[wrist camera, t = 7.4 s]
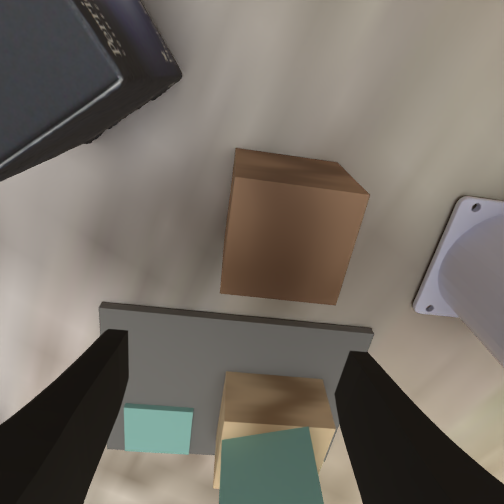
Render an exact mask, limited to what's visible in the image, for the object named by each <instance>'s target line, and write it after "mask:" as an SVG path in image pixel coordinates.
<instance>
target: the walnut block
mask: <svg viewBox="0 0 504 504" xmlns="http://www.w3.org/2000/svg"><path fill="white" fill-rule="evenodd" d="M369 197H370V194H369V193H368V192H367V191H366V190H365V189H364V188H362V187H361V186H360V185H359V184H358V183H357V182H356V181H355V180H354V179H353V178H352V177H351V176H350V175H349V174H348V173H347V172H346V171H345V170H344V169H343V168H342V167H341V166H340V165H339V164H338V163H337V162H330V161H324V160H317V159H310V158H303V157H296V156H289V155H282V154H275V153H268V152H261V151H254V150H247V149H240V148H236V150H235V158H234V167H233V175H232V183H231V191H230V199H229V207H228V215H227V223H226V231H225V239H224V250H223V262H222V275H221V287H220V293H221V294H231V295H240V296H250V297H260V298H269V299H279V300H289V301H299V302H308V303H318V304H328V305H336V303H337V299H338V296H339V293H340V290H341V287H342V283H343V280H344V277H345V274H346V271H347V267H348V264H349V261H350V258H351V255H352V251H353V248H354V245H355V242H356V239H357V235H358V232H359V229H360V226H361V223H362V219H363V216H364V213H365V210H366V207H367V203H368V200H369Z"/></svg>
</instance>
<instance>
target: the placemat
mask: <svg viewBox="0 0 504 504" xmlns="http://www.w3.org/2000/svg"><path fill="white" fill-rule="evenodd" d="M99 320H100V336H101V335H102V334H103V333H104V331H106V330H107V329H117V330H128V349H129V379H128V383H127V387H126V391H125V394H124V398H123V401H122V405H121V408H120V411H119V414H118V416H117V419H116V421H115V424H114V426H113V429H112V431H111V434H110V436H109V439H108V441H107V449H117V450H125V434H124V406H125V403H131V404H145V405H159V406H173V407H187V408H194V409H193V419H192V428H191V438H190V447H189V454H203V455H215V448H216V434H217V427H218V421H219V414H220V408H221V402H222V395H223V389H224V382H225V376H226V371H228V372H241V373H253V374H265V375H277V376H290V377H302V378H314V379H323V383H324V387H325V390H326V394H327V398H328V401H329V405H330V409H331V413H332V416H333V420H334V424H335V427H336V430H335V433H334V435H333V438H332V440H331V443H330V446H329V448H328V451H327V453H326V456H325V459H324V461H323V462H325V460H326V457H327V454H328V452H329V449H330V447H331V444H332V442H333V439H334V436H335V434H336V431H337V429H338V426H339V419H338V413H337V407H336V401H335V395H334V393H335V391H336V388H337V385H338V382H339V380H340V377H341V374H342V371H343V368H344V366H345V363H346V360H347V357H348V354H349V352H350V351H361V352H368V349H369V346H370V344H371V341H372V339H373V336H374V333H373V331H372V329H371V328H363V327H352V326H342V325H332V324H322V323H311V322H301V321H291V320H280V319H270V318H260V317H250V316H239V315H229V314H219V313H208V312H198V311H188V310H178V309H167V308H157V307H147V306H136V305H126V304H116V303H106V302H102V303H101V305H100V307H99Z"/></svg>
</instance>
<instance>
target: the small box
mask: <svg viewBox="0 0 504 504" xmlns="http://www.w3.org/2000/svg"><path fill="white" fill-rule="evenodd" d="M181 78H182V73H181V71H180V69H179V67H178V65H177V63H176V61H175V60H174V58H173V56H172V54H171V53H170V51H169V49H168V48H167V46H166V44H165V42H164V41H163V39H162V37H161V35H160V34H159V32H158V30H157V29H156V27H155V25H154V24H153V22H152V20H151V18H150V17H149V15H148V13H147V12H146V10H145V8H144V6H143V5H142V3H141V1H140V0H0V182H1V181H3V180H5V179H7V178H9V177H11V176H14V175H16V174H18V173H21V172H23V171H25V170H27V169H29V168H31V167H34V166H36V165H38V164H41V163H42V162H45V161H47V160H49V159H52V158H54V157H56V156H58V155H60V154H62V153H64V152H66V151H68V150H70V149H72V148H75V147H77V146H79V145H81V144H88V143H92V141H93V140H94V139H97V138H98V137H99V136H100V135H101V134H102V133H103V132H104V131H105V130H106V129H110V128H112V126H115V125H116V124H117V123H118V122H119V121H120V120H121V119H123V118H126V117H127V115H129V114H131V113H132V112H134V111H135V110H137V109H140V107H141V106H143V105H144V104H146V103H148V102H149V101H150V100H155V99H156V98H157V97H159V96H161V94H162V93H164V92H166V90H167V89H169V88H170V87H171V86H172V85H173V84H175V83H176V82H178V81H179V80H180V79H181Z"/></svg>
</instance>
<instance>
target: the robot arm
mask: <svg viewBox="0 0 504 504" xmlns="http://www.w3.org/2000/svg"><path fill="white" fill-rule="evenodd" d="M476 203H477V206H476V207H475V208H474V209H472V206H473V205H474V204H476ZM471 209H472V210H471ZM429 305H431V306H430V307H429V308H427V306H429ZM413 309H414V310H415V311H416V312H417V313H420V314H429V315H439V316H449V317H459V318H460V319H461V320H462V321H463V322H464V323H465V324H466V326H467V327H468V328H469V329H470V330H471V331H472V332H473V333H474V335H475V336H476V337H477V338H478V339H479V340H480V341H481V343H482V344H483V345H484V346H485V347H486V348H487V349H488V351H489V352H490V353H491V354H492V355H493V356H494V357H495V359H496V360H497V361H498V362H499V363H500V364H501V365H502V366H503V368H504V201H500V200H493V199H485V198H478V197H471V196H464V197H462V198H460V199H459V200H458V202H457V203H456V205H455V208H454V210H453V212H452V215H451V217H450V219H449V222H448V224H447V226H446V229H445V231H444V233H443V236H442V238H441V240H440V242H439V245H438V247H437V249H436V252H435V254H434V256H433V259H432V261H431V263H430V266H429V268H428V270H427V273H426V275H425V277H424V280H423V282H422V284H421V287H420V289H419V291H418V294H417V296H416V298H415V301H414V303H413ZM128 379H129V349H128V330H117V329H107V330H106V331H104V333H103V334H102V335H101V336H100V337H99V338H98V339H97V340H96V341H95V342H94V343H93V344H92V345H91V346H90V347H89V348H88V349H87V350H86V351H85V352H84V353H83V354H82V355H81V356H80V357H79V358H78V359H77V360H76V361H75V362H74V363H73V364H72V365H71V366H70V367H69V368H67V369H66V370H65V371H64V372H63V373H62V374H61V375H60V376H59V377H58V378H57V379H56V380H55V381H53V382H52V383H51V384H50V385H49V386H48V387H47V388H45V389H44V390H43V391H42V392H41V393H40V394H38V395H37V396H36V397H35V398H34V399H33V400H31V401H30V402H29V403H28V404H27V405H25V406H24V407H23V408H22V409H20V410H19V411H18V412H17V413H15V414H14V415H13V416H11V417H10V418H9V419H8V420H6V421H5V422H4V423H2V424H1V425H0V504H83V503H84V500H85V497H86V495H87V492H88V489H89V486H90V484H91V481H92V479H93V476H94V474H95V471H96V469H97V466H98V464H99V461H100V459H101V456H102V454H103V451H104V449H105V446H106V444H107V441H108V439H109V436H110V434H111V431H112V429H113V426H114V424H115V421H116V419H117V416H118V414H119V411H120V408H121V405H122V401H123V398H124V394H125V391H126V387H127V383H128ZM334 395H335V401H336V407H337V413H338V419H339V424H340V428H341V431H342V435H343V438H344V442H345V445H346V448H347V452H348V455H349V458H350V462H351V465H352V468H353V472H354V475H355V478H356V481H357V485H358V488H359V491H360V495H361V498H362V502H363V504H504V484H503V483H502V482H500V481H499V480H498V479H496V478H495V477H494V476H493V475H491V474H490V473H489V472H488V471H486V470H485V469H484V468H483V467H482V466H480V465H479V464H478V463H477V462H476V461H475V460H473V459H472V458H471V457H470V456H469V455H468V454H467V453H465V452H464V451H463V450H462V449H461V448H460V447H458V446H457V445H456V444H455V443H454V442H453V441H452V440H451V439H450V438H449V437H448V436H447V435H445V434H444V433H443V432H442V431H441V430H440V429H439V428H438V427H437V426H436V425H435V424H434V423H433V422H432V421H431V420H430V419H429V418H428V417H427V416H426V415H425V414H424V413H423V412H422V411H421V410H420V409H419V408H418V407H417V406H416V405H415V404H414V402H413V401H412V400H411V399H410V398H409V397H408V396H407V395H406V394H405V393H404V392H403V391H402V390H401V388H400V387H399V386H398V385H397V384H396V383H395V382H394V381H393V380H392V378H391V377H390V376H389V375H388V374H387V373H386V372H385V371H384V370H383V368H382V367H381V366H380V365H379V364H378V363H377V362H376V361H375V360H374V358H373V357H372V356H371V355H370V354H369V353H368V352H361V351H350V352H349V354H348V357H347V360H346V363H345V366H344V368H343V371H342V374H341V377H340V380H339V382H338V385H337V388H336V391H335V393H334Z"/></svg>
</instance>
